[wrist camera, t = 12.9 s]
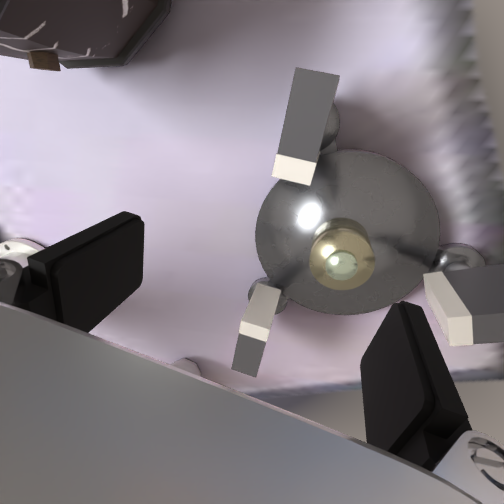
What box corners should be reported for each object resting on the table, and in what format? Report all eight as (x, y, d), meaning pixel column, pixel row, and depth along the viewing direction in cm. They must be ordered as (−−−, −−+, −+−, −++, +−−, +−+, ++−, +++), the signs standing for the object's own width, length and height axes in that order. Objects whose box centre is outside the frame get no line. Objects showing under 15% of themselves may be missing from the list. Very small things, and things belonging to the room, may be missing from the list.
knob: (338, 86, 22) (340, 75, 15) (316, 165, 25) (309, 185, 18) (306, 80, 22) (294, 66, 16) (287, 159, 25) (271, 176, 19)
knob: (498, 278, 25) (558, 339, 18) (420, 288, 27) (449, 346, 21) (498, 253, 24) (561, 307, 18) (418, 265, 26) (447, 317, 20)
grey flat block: (251, 317, 34) (230, 369, 27) (261, 274, 31) (240, 320, 24) (271, 324, 33) (256, 378, 27) (283, 281, 31) (269, 329, 24)
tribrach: (243, 302, 35) (225, 339, 29) (287, 89, 24) (273, 82, 18) (421, 357, 32) (441, 411, 26) (559, 143, 21) (643, 155, 16)
